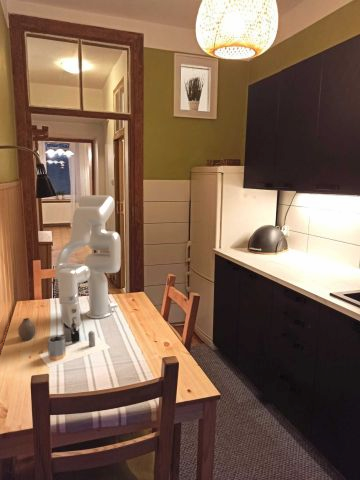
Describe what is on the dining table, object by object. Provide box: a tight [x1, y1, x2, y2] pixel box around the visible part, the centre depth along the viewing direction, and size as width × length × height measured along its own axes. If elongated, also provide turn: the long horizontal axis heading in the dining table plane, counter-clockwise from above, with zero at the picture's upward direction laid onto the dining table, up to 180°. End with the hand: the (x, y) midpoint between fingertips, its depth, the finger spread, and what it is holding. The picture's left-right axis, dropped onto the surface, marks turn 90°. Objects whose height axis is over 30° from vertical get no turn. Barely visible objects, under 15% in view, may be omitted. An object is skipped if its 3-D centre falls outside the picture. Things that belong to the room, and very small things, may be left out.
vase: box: [17, 317, 37, 341], centre depth 150 cm, size 7×7×9 cm
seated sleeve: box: [46, 335, 66, 361], centre depth 131 cm, size 6×6×7 cm
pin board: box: [38, 330, 111, 368], centre depth 135 cm, size 24×12×8 cm, turn 127°
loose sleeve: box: [62, 324, 75, 342], centre depth 147 cm, size 6×6×7 cm
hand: (71, 337), depth 147 cm, fingers open, 9 cm apart
